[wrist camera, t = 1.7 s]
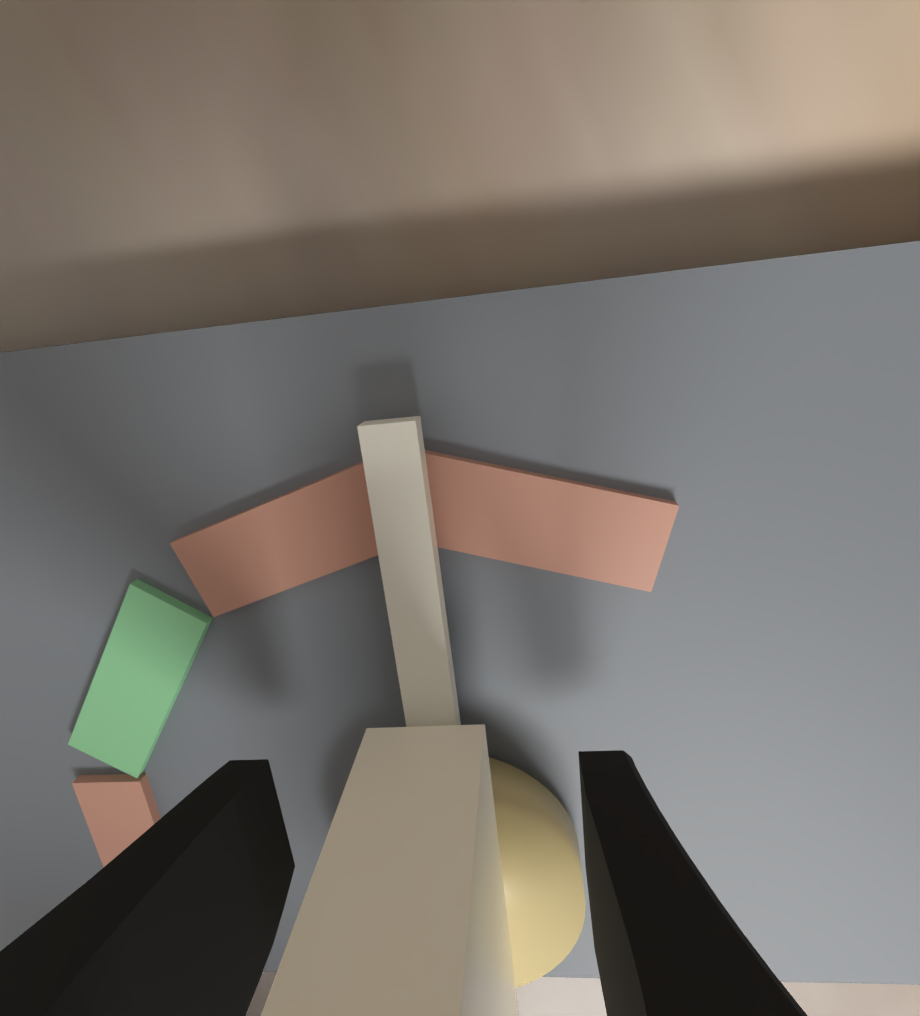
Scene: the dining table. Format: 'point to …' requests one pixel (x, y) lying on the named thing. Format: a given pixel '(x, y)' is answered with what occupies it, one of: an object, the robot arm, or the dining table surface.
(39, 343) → the dining table surface
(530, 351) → the tuner board
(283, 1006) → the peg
